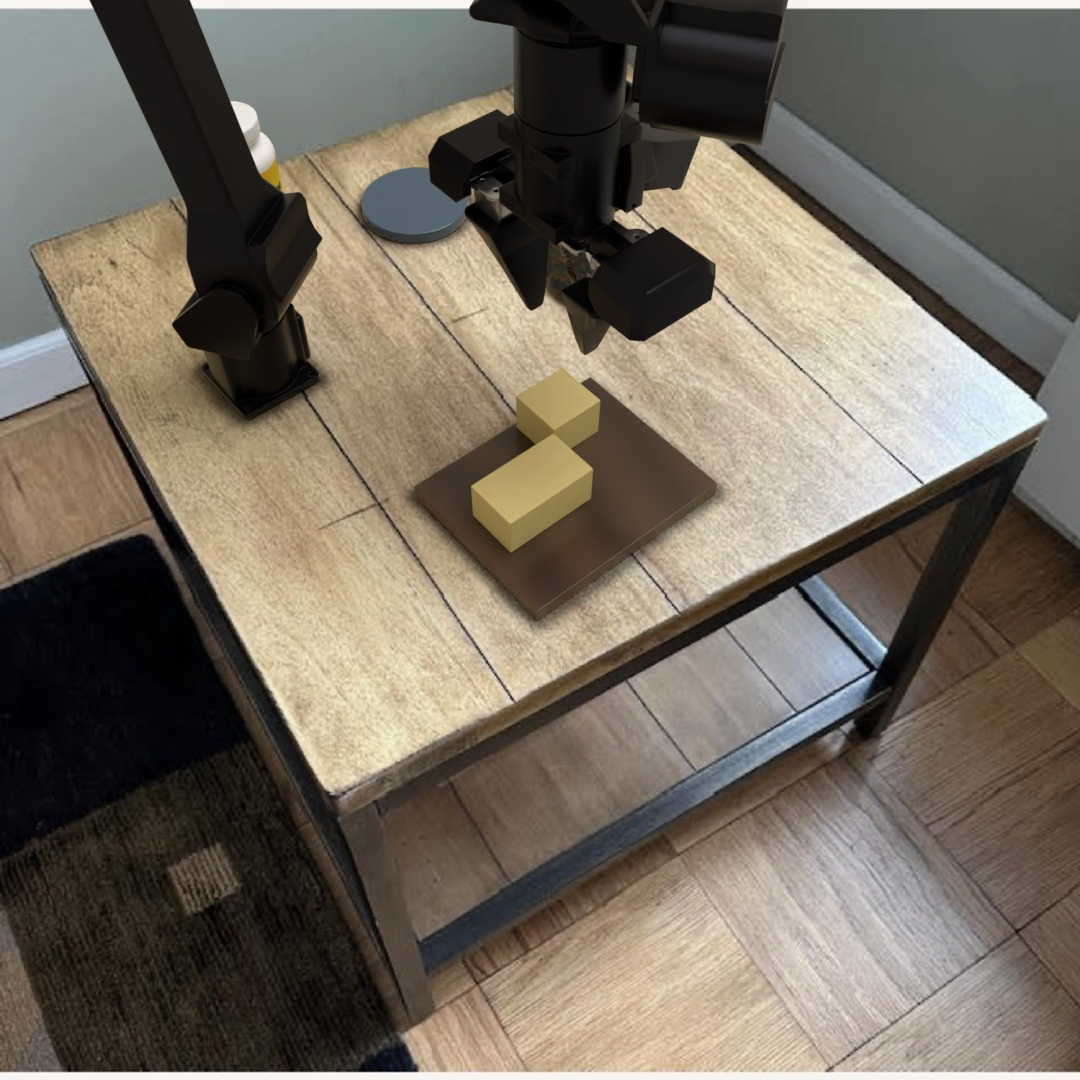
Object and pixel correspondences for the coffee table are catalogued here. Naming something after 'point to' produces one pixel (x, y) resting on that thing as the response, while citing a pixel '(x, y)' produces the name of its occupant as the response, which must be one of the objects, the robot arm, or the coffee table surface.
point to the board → (591, 529)
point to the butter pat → (558, 410)
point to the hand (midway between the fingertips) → (561, 328)
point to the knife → (565, 267)
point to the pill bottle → (258, 144)
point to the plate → (410, 207)
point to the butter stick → (531, 492)
